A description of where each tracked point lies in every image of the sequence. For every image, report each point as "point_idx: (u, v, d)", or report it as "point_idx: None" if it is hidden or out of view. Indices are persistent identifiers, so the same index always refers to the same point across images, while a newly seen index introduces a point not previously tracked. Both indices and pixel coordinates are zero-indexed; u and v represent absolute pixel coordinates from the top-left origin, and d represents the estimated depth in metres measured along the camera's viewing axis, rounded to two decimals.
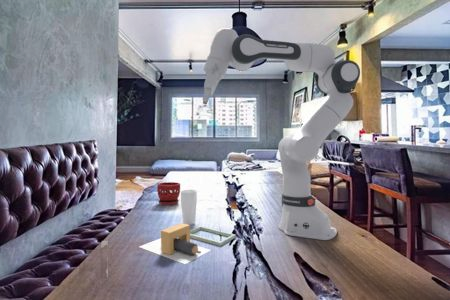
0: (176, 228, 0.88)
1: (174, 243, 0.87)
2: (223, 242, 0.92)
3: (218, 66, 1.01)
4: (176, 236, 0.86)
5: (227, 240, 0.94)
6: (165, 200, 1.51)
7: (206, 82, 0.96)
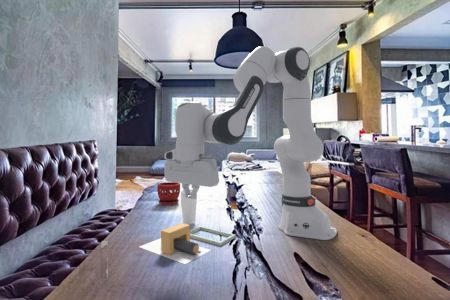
0: (176, 228, 0.88)
1: (176, 241, 0.87)
2: (223, 242, 0.92)
3: (202, 153, 0.81)
4: (176, 236, 0.86)
5: (227, 240, 0.94)
6: (165, 200, 1.51)
7: (213, 183, 0.77)
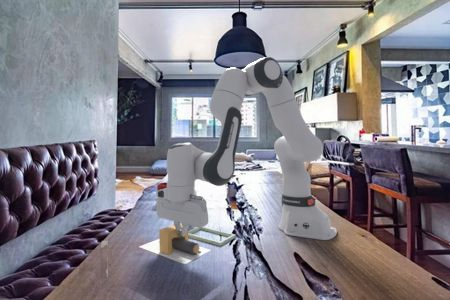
0: (174, 227, 0.88)
1: (176, 241, 0.87)
2: (223, 242, 0.92)
3: (192, 193, 0.84)
4: (174, 236, 0.86)
5: (227, 240, 0.94)
6: None
7: (202, 224, 0.79)
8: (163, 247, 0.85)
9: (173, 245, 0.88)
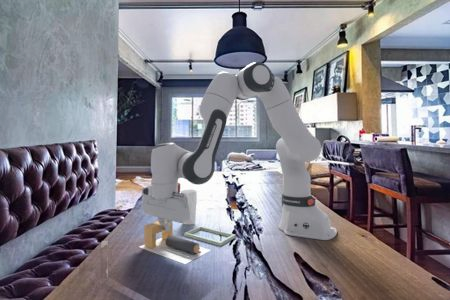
0: (158, 223, 0.93)
1: (177, 240, 0.88)
2: (223, 242, 0.92)
3: (175, 190, 0.89)
4: (158, 231, 0.91)
5: (227, 240, 0.94)
6: None
7: (183, 220, 0.84)
8: (147, 242, 0.90)
9: (173, 244, 0.88)
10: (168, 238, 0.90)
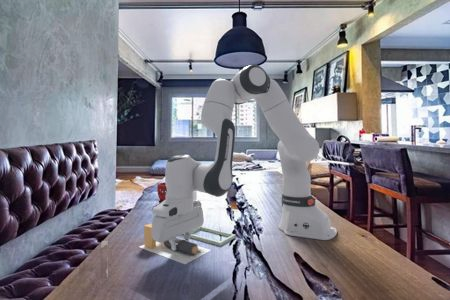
0: None
1: None
2: (223, 242, 0.92)
3: None
4: None
5: (227, 240, 0.94)
6: None
7: None
8: (147, 242, 0.90)
9: None
10: (165, 241, 0.89)
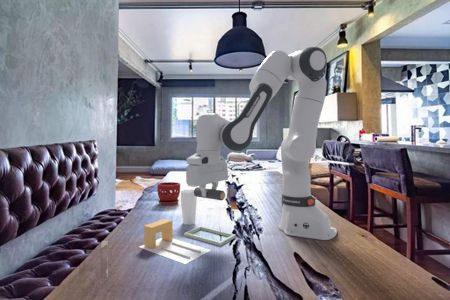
0: (158, 223, 0.93)
1: None
2: (223, 242, 0.92)
3: None
4: (158, 231, 0.91)
5: (227, 240, 0.94)
6: (165, 200, 1.51)
7: None
8: (147, 242, 0.90)
9: (201, 195, 0.99)
10: (195, 191, 1.00)
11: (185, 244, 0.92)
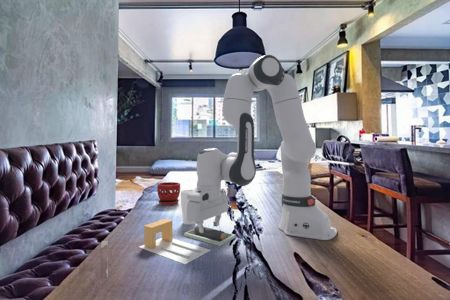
0: (158, 223, 0.93)
1: None
2: (223, 242, 0.92)
3: None
4: (158, 231, 0.91)
5: (227, 240, 0.94)
6: (165, 200, 1.51)
7: None
8: (147, 242, 0.90)
9: (202, 235, 0.99)
10: (195, 230, 1.01)
11: (185, 244, 0.92)
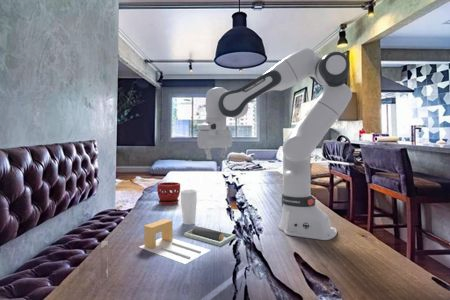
0: (158, 223, 0.93)
1: (202, 235, 0.98)
2: (223, 242, 0.92)
3: None
4: (158, 231, 0.91)
5: (227, 240, 0.94)
6: (165, 200, 1.51)
7: None
8: (147, 242, 0.90)
9: None
10: (193, 233, 1.00)
11: (185, 244, 0.92)
